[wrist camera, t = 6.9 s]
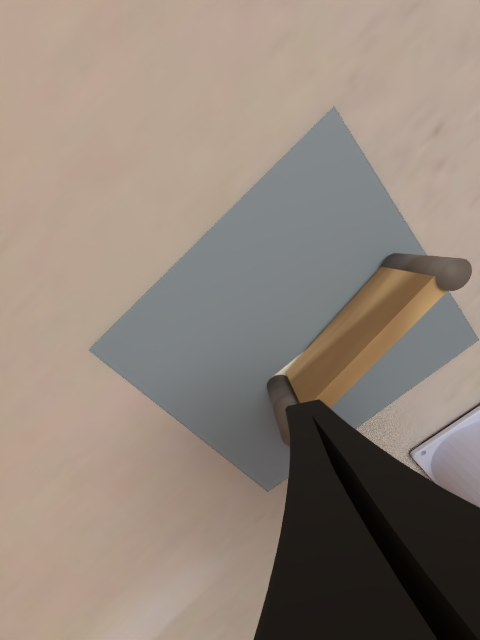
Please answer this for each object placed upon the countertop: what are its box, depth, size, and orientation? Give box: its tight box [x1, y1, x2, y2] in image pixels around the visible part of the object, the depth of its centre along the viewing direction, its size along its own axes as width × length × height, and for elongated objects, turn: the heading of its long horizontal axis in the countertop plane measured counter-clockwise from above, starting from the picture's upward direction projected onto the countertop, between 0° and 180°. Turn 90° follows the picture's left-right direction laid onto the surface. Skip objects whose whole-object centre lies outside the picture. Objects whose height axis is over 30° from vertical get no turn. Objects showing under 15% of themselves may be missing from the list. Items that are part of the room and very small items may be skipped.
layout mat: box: [89, 107, 479, 492], centre depth 19 cm, size 22×20×1 cm
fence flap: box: [286, 253, 472, 408], centre depth 16 cm, size 2×11×5 cm, turn 142°
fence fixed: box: [267, 375, 300, 446], centre depth 19 cm, size 2×10×5 cm, turn 43°
